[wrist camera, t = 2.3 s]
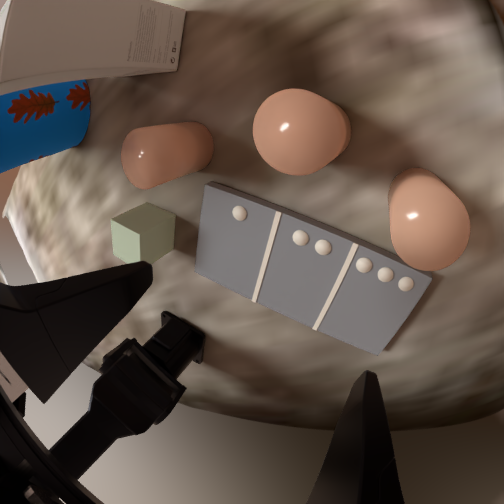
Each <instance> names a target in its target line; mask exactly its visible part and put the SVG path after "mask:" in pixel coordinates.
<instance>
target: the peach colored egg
mask: <svg viewBox="0 0 504 504" xmlns="http://www.w3.org/2000/svg"><path fill="white" fill-rule="evenodd" d="M388 205H389V216H390V231H391V240H392V243H393V246H394V248H395V251H396V252H397V254H398V255H399V257H400V258H401V259H402V260H403V261H404V262H405V263H407V264H408V265H410V266H411V267H413V268H416V269H419V270H423V271H435V270H440V269H443V268H445V267H447V266H449V265H451V264H452V263H454V262H455V261H456V260H457V259H458V258H459V257H460V256H461V254H462V253H463V251H464V250H465V248H466V246H467V243H468V240H469V236H470V220H469V216H468V212H467V210H466V208H465V206H464V205H463V203H462V202H461V201H460V199H459V198H458V197H457V196H456V195H455V194H454V193H453V192H452V191H451V190H450V189H449V188H448V187H447V186H446V185H445V184H444V183H443V182H442V181H441V180H440V179H439V178H438V177H437V176H436V175H435V174H433V173H432V172H430V171H428V170H426V169H423V168H410V169H407V170H405V171H403V172H401V173H400V174H398V175H397V176H396V177H395V179H394V180H393V182H392V183H391V185H390V188H389V192H388Z"/></svg>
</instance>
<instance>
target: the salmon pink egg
mask: <svg viewBox="0 0 504 504" xmlns="http://www.w3.org/2000/svg"><path fill="white" fill-rule="evenodd" d="M253 138H254V142H255V145H256V148H257V150H258V152H259V153H260V155H261V156H262V158H263V159H264V160H265V161H266V162H267V163H268V164H269V165H270V166H272V167H273V168H274V169H276V170H278V171H280V172H283V173H286V174H289V175H307V174H311V173H314V172H316V171H318V170H320V169H321V168H323V167H324V166H325V165H327V164H328V163H329V162H331V161H332V160H333V159H335V158H336V157H337V156H339V155H340V154H341V153H342V152H343V151H344V150H345V149H346V148H347V146H348V144H349V142H350V139H351V124H350V121H349V118H348V116H347V115H346V113H345V112H344V111H343V109H342V108H340V107H339V106H338V105H337V104H335V103H333V102H331V101H329V100H327V99H325V98H323V97H321V96H319V95H317V94H315V93H312V92H310V91H307V90H303V89H286V90H282V91H279V92H276V93H275V94H273V95H271V96H270V97H268V98H267V99H266V100H265V101H264V102H263V103H262V104H261V106H260V107H259V109H258V111H257V113H256V115H255V118H254V123H253Z"/></svg>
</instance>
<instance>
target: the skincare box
mask: <svg viewBox="0 0 504 504" xmlns="http://www.w3.org/2000/svg"><path fill="white" fill-rule="evenodd" d="M185 14H186V11H185V10H184V9H181V8H178V7H174V6H171V5H167V4H163V3H160V2H156V1H152V0H7V2H6V3H5V5H4V6H3V8H2V9H1V11H0V95H4V94H7V93H11V92H15V91H19V90H23V89H28V88H33V87H37V86H43V85H48V84H54V83H61V82H68V81H76V80H84V79H94V78H106V77H126V76H134V75H143V74H152V73H162V72H172V71H176V70H177V67H178V60H179V53H180V46H181V40H182V33H183V26H184V20H185Z"/></svg>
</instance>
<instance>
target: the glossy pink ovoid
mask: <svg viewBox="0 0 504 504" xmlns="http://www.w3.org/2000/svg"><path fill="white" fill-rule="evenodd" d="M213 152H214V143H213V138H212V136H211V134H210V132H209V130H208V129H207V128H206V127H205V126H204V125H202V124H201V123H198V122H194V121H191V122H180V123H172V124H163V125H156V126H149V127H142V128H137V129H134V130H132V131H131V132H130V133H129V134H128V135H127V136H126V138H125V139H124V142H123V145H122V150H121V161H122V166H123V169H124V172H125V174H126V176H127V178H128V179H129V181H130V182H131V183H132V184H133V185H134V186H136V187H138V188H140V189H150V188H153V187H155V186H158V185H160V184H163V183H166V182H168V181H171V180H174V179H176V178H179V177H182V176H185V175H188V174H190V173H193V172H196V171H199V170H202V169H203V168H205V167H206V166H207V165H208V164H209V162H210V161H211V159H212V156H213Z"/></svg>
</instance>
